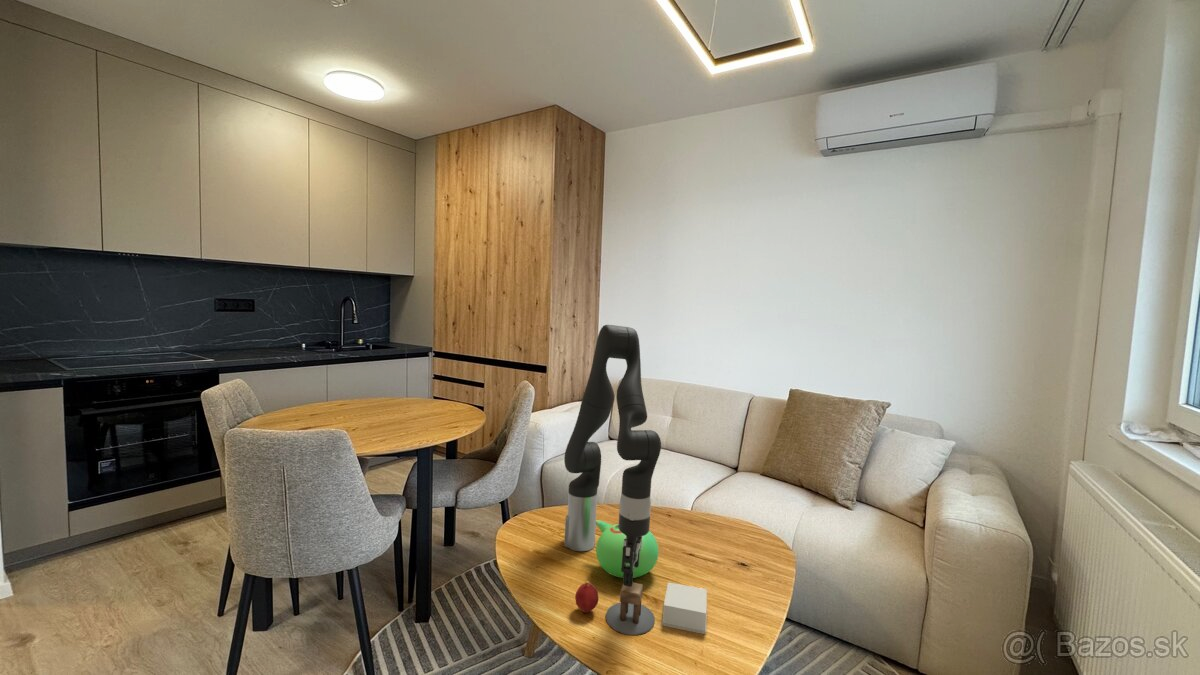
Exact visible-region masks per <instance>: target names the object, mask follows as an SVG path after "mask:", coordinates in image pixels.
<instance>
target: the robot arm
mask: <svg viewBox="0 0 1200 675" xmlns="http://www.w3.org/2000/svg"><path fill="white" fill-rule="evenodd" d="M640 348H641V347H640V339H639V334H638V332H637V331H636V329H635V328H633V327H630V326H623V325H613V324H605V325H602V327H601V328H600V330H599V333H598V336H597V339H596V342H595V348H594V354H593V360H592V364H591V369H590V372H589V376H588V380H587V383H586V386H585V389H584V392H583V396H582V400H581V402H580V407H579V412H578V415H577V419H576V421H575V422H576V423H575V425H574V428H573V431H572V432H571V435H570V438H569V440H568V443H567V446H566V448H565V452H564V459H563V460H564V467H565V469H566V471H567V472H568V473H571V474H580V475H578V476H577V477H576V478H574V479H573V480H570V482H569V484H568V491H567V492H568V494H567V495H568V496H567V498H568V499H567V515H566V516H565V518H564V519H565V521H564V540H563V541H564V542H563V545H564V547H565V548H568V549H570V550H572V551H574V552H575V551H576V552H588V551H591V550H592V549H594V548H595V545H596V528H597V525H596V523H595V521H596V520H597V507H598V506H597V505H598V504H597V503H598V501H597V500H598V489H599V485H600V479H601V478H600V476H601V468H602V451H601V449H600V448H601V447H600V446H599V444H598V443H597V442H595V441H589V440H590V438H592V437H593V435H594V434H595V433H596V432H597V431H599V430H600V428H601V427H602V426H603V425H604V424H605V423H606V422H607V420H608V419H609V417H610V414H611V412H612V408H613V405H614V402H615V398H616V405H617V411H618V412H617V413H618V418H619V421H618V422H619V423H618V424H619V426H618V435H617V440H616V451H617V453H618V455H619V457H620V458H621V459H622V460H624V461H640V462H639V463H638V464H635V465H633V466H630V467H628V468H626V469H624V470H623V472H622V478H621V479H622V480H621V481H622V482H621V495H620V499H619V511H618V513H619V514H618V524H619V530H620V531H621V532H622V533H623V534H625V535H626V539H624V544H623V545H624V546H623V555H622V568H621V572H624V575H623V578H622V586H623V585H624V586H629V587H631V586H632V584H633V583H634V581H633V580H634V578H633V571H634V567H638V566H639V553H640V551H641V547H642V536H644V535H646V534H647V533H648V532H649V531H650V524H651V523H650V522H651V511H652V510H651V507H652V506H651V504H652V502H651V501H652V500H651V491H652V478H653V476H654V475H653V474H654V473H655V469H656V466H657V463H658V460H659V456H660V455H661V451H662V441H661V437H660V436H659V433H657V432H656V431H655V430H650V429H645V430H644V429H643V430H642V429H641V430H640V429H639V430H637V429H636V430H632V429H633V428H635V427H639V426H641V425H643V424H645V423H646V421H647V419H648V412H647V408H646V407H647V406H646V403H645V397H644V394H643V393H644V392H643V385H642V373H641V372H642V371H641V370H642V369H641V367H642V365H641V349H640ZM609 359H617V360H620V359H621V360H625V362H626V370H625V372H624V375H623V377H622V378H621V380H620V382H619V385H618V387H617V389H616V397H615V392H614V388H613V387H612V383H611V381H610V379H609V377H608V373H607V364H608V360H609ZM626 563H629V564H630V566H628V565H626Z"/></svg>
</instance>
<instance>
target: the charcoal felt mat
mask: <svg viewBox="0 0 1200 675" xmlns="http://www.w3.org/2000/svg"><path fill="white" fill-rule="evenodd" d="M620 608H621V602H620V601H619V602H617V603H615V604H613V605H611V606H609V608H608V609H607V610H606V614H605V620H606V623H607V625H608V626H609V627H610V628H611V629H613V630H614V631H615V632H617V633H620V634H623V635H627V636H639V635H643V634H646V633H648V632H650V631H651V630H652V629H653V628H654V626H655V622H656V621H655V620H656V617H655V615H654V613H653V612H652V610H651V609H650V608H649V607H647V606H646V605H643V604H641V615H640V616H639V623H638V624H634V623H633V609H634V604H630V603H629V604H628V613H626V620H625V621H621V620H620Z"/></svg>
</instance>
